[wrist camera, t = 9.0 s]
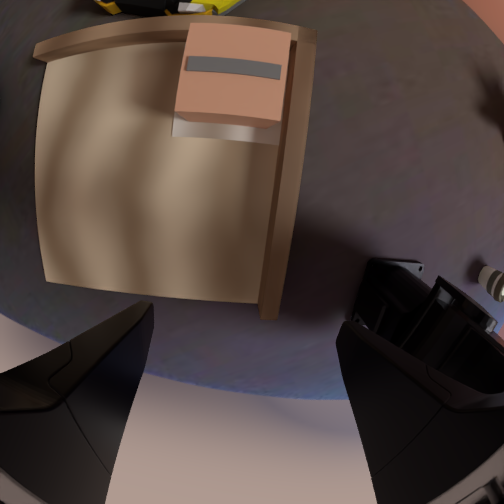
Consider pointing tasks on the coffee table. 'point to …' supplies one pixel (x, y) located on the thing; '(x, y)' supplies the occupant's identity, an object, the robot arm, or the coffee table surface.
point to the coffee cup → (492, 282)
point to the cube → (233, 75)
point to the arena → (163, 169)
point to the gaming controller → (170, 7)
